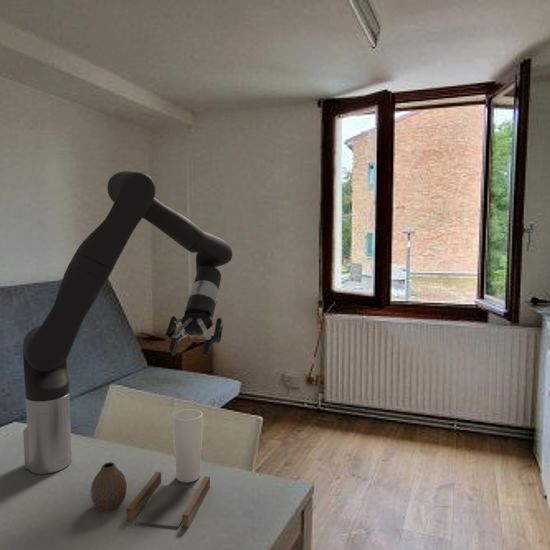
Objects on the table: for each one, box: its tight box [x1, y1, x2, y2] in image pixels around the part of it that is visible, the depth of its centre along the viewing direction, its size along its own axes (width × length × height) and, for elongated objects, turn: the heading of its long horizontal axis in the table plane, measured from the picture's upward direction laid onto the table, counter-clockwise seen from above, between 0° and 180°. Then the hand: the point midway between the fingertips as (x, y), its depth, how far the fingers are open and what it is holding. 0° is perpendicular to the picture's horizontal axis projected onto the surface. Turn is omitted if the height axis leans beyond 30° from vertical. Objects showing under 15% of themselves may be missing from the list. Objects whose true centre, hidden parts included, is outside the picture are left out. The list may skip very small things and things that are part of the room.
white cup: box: [172, 408, 204, 484], centre depth 105 cm, size 7×7×15 cm
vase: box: [90, 461, 128, 513], centre depth 94 cm, size 7×7×9 cm
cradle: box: [126, 471, 211, 529], centre depth 96 cm, size 12×14×2 cm
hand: (188, 354), depth 116 cm, fingers open, 8 cm apart
